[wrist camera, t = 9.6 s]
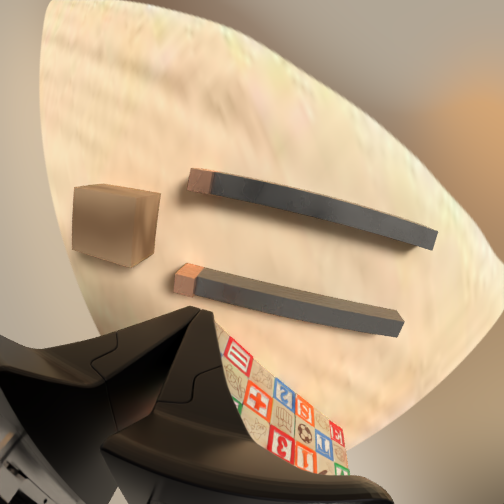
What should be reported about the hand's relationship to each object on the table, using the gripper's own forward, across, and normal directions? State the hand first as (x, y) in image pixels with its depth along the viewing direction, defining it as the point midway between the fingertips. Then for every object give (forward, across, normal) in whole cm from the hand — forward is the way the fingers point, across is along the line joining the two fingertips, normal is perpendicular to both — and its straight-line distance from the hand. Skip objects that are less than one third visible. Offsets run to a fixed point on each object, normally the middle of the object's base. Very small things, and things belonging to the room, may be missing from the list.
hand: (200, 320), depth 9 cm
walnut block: (+12, +10, 0) cm, 16 cm away
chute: (+12, -5, 0) cm, 13 cm away
